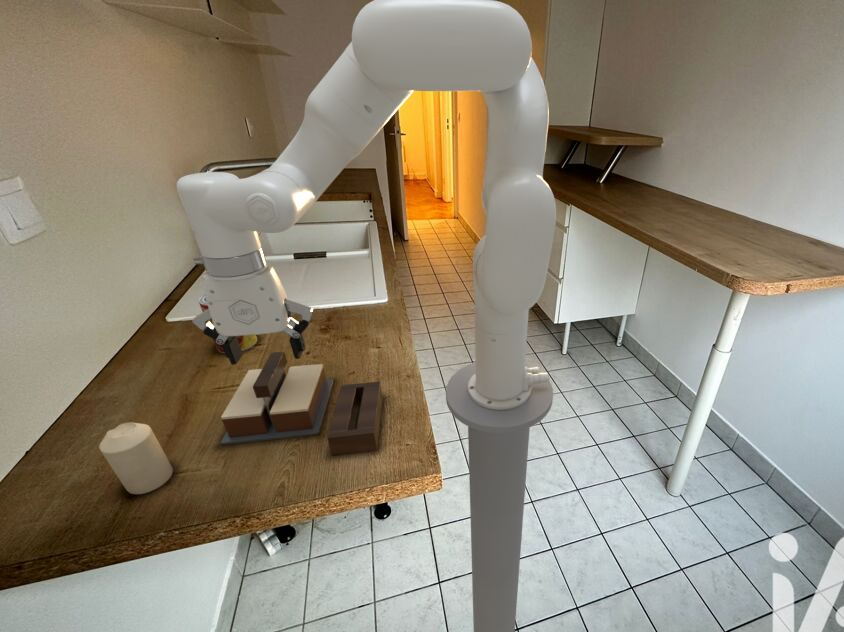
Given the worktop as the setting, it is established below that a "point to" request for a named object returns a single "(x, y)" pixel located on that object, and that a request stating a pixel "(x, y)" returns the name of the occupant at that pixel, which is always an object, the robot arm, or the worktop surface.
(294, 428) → the cake
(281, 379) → the cake cutter
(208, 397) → the worktop surface
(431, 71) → the robot arm
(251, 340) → the canned food
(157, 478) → the candle
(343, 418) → the knife block
